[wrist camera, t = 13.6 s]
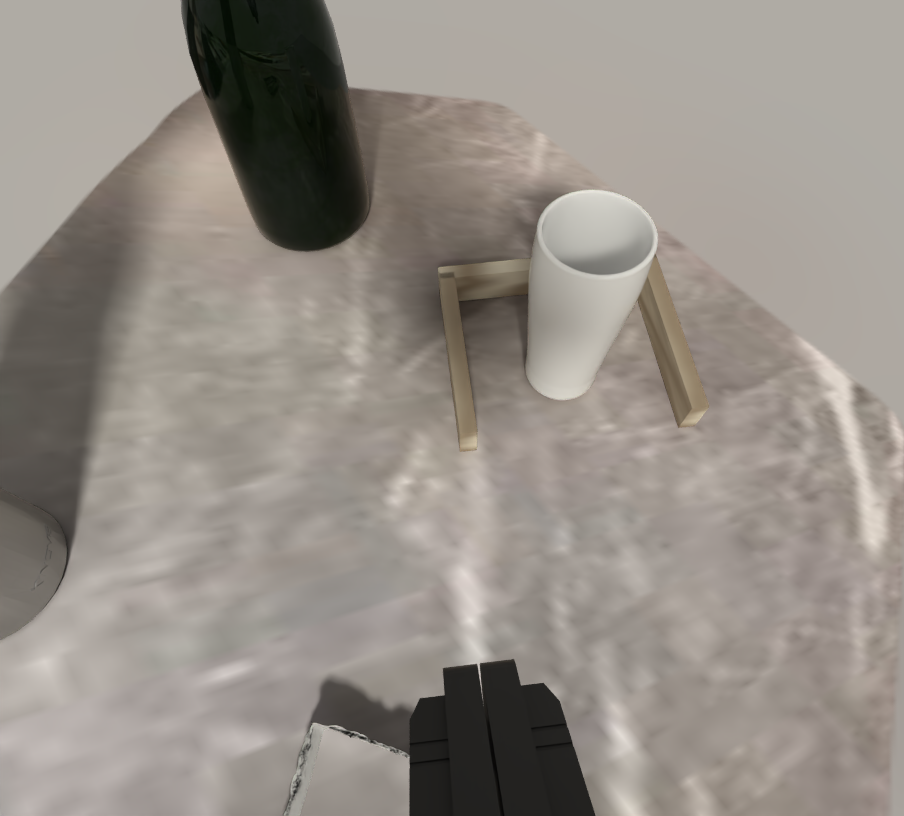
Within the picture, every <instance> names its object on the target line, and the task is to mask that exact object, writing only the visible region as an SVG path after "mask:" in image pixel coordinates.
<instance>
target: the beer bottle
mask: <svg viewBox="0 0 904 816" xmlns="http://www.w3.org/2000/svg"><path fill="white" fill-rule="evenodd" d="M181 12H182V19H183V24H184V29H185V34H186V39H187V44H188V49H189V53H190V56H191V59H192V62H193V65H194V68H195V71H196V73H197V77H198V80H199V83H200V86H201V89H202V92H203V95H204V97H205V100H206V102H207V105H208V108H209V110H210V113H211V115H212V118H213V121H214V123H215V126H216V128H217V131H218V134H219V136H220V139H221V141H222V144H223V146H224V149H225V152H226V154H227V157H228V159H229V162H230V164H231V167H232V169H233V172H234V175H235V177H236V180H237V182H238V185H239V187H240V190H241V192H242V195H243V197H244V199H245V202H246V204H247V207H248V209H249V212H250V214H251V216H252V218H253V220H254V222H255V224H256V226H257V228H258V230H259V232H260V233H261V234H262V235H263V236H264V237H265V238H266V239H268V240H269V241H271V242H272V243H274V244H275V245H277V246H280V247H282V248H285V249H288V250H293V251H304V252H309V251H319V250H323V249H327V248H330V247H333V246H335V245H338V244H340V243H342V242H343V241H345V240H347V239H348V238H350V237H351V236H352V235H353V234H354V233H355V232H357V231H358V229H359V228H360V227H361V225H362V224H363V222H364V220H365V218H366V216H367V214H368V210H369V205H370V204H369V193H368V185H367V179H366V174H365V169H364V164H363V158H362V153H361V148H360V143H359V138H358V133H357V129H356V124H355V119H354V114H353V109H352V104H351V99H350V94H349V90H348V85H347V80H346V75H345V70H344V66H343V62H342V57H341V54H340V49H339V45H338V41H337V38H336V33H335V30H334V25H333V23H332V20H331V17H330V15H329V12H328V9H327V7H326V4H325V2H324V0H181Z"/></svg>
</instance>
